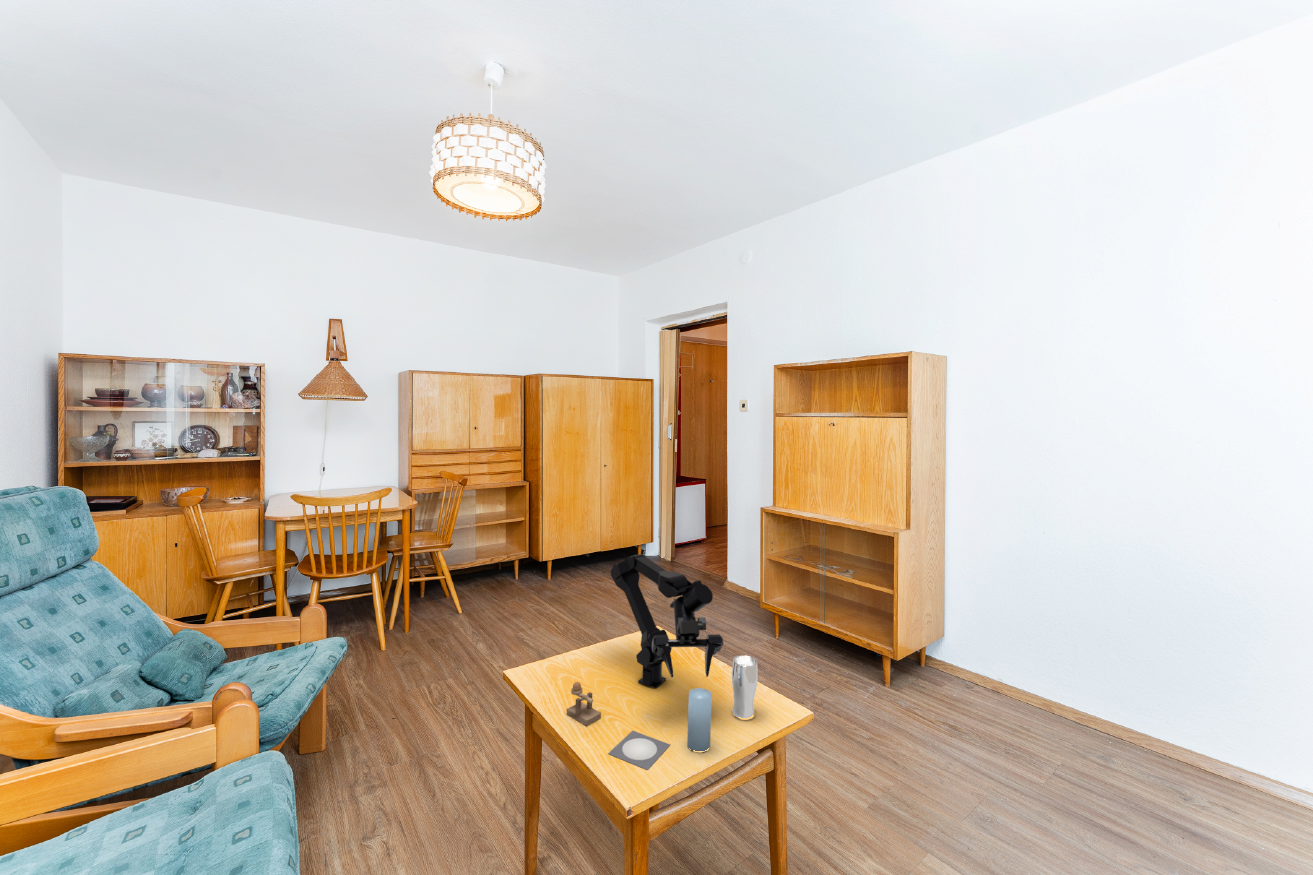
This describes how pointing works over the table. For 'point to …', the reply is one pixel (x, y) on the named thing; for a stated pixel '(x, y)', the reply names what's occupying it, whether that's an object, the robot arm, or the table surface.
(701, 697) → the pale blue capsule
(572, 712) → the catapult
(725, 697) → the table surface
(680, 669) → the table surface
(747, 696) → the beer glass
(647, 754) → the pad
